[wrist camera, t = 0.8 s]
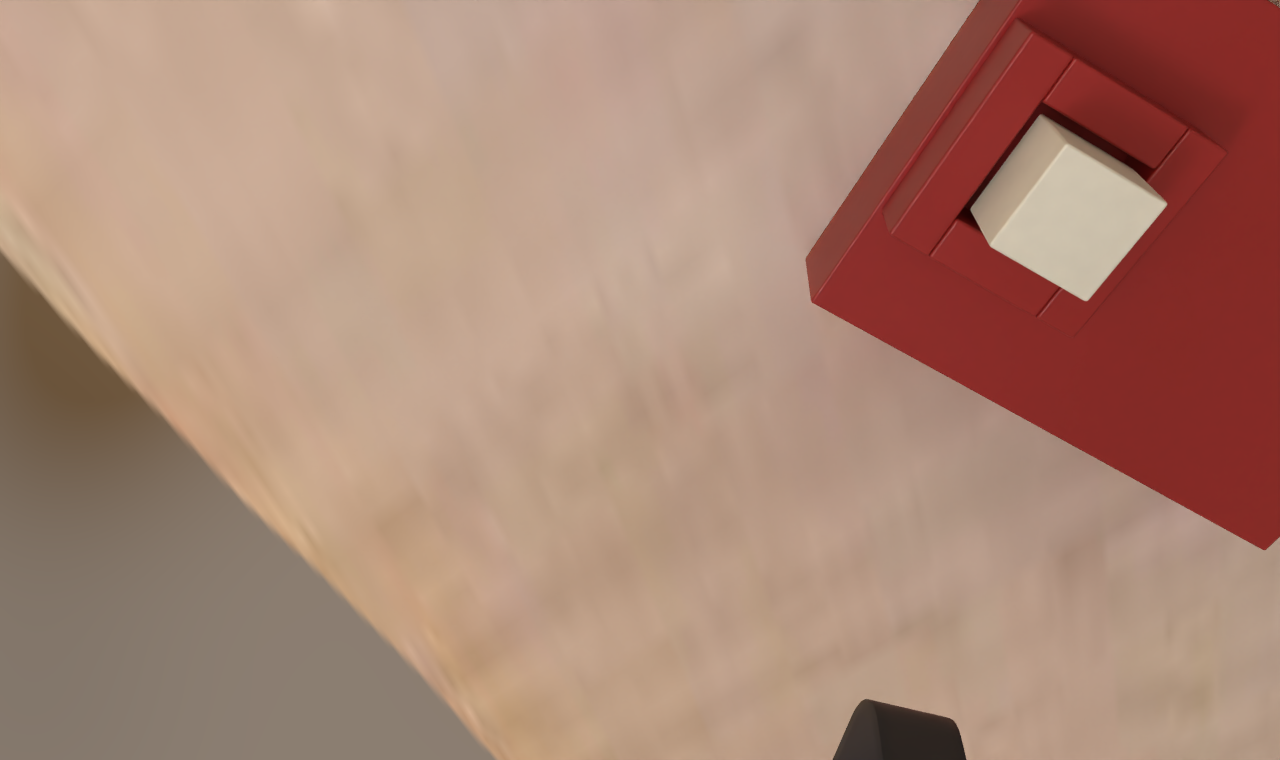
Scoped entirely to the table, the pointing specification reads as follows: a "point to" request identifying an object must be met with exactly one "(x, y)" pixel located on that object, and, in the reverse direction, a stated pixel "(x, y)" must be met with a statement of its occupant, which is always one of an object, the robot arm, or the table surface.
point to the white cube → (1065, 208)
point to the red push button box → (1144, 279)
